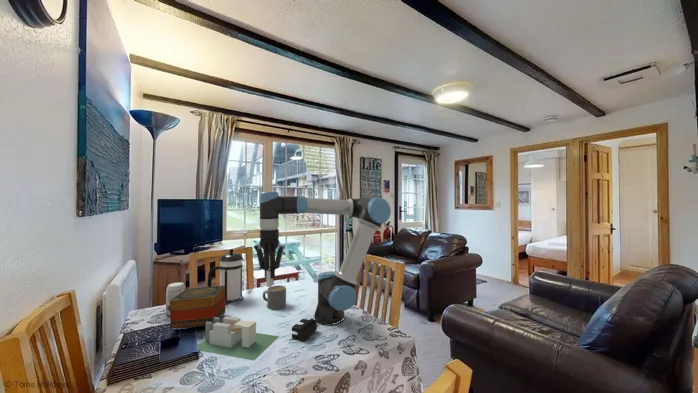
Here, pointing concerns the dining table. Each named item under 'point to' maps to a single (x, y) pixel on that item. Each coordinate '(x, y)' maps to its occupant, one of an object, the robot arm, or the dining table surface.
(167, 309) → the supplement can
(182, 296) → the decorative box
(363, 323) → the dining table surface
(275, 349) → the dining table surface
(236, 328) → the golden metal bar
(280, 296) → the coffee mug
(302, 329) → the end cap
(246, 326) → the cream white stepped block
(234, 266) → the coffee press
